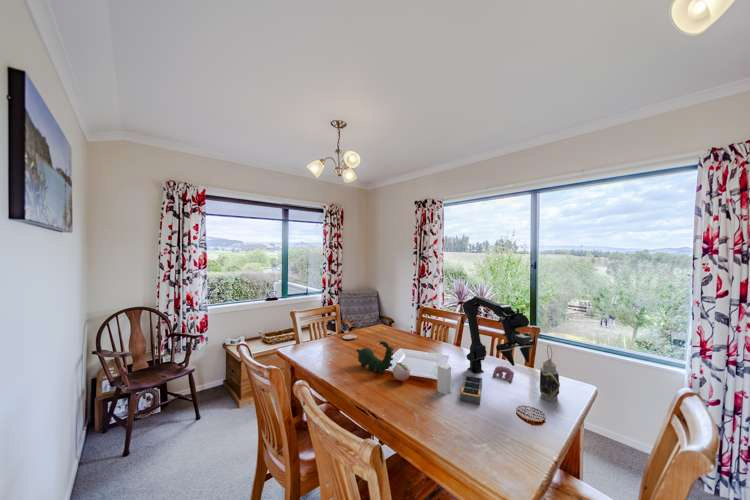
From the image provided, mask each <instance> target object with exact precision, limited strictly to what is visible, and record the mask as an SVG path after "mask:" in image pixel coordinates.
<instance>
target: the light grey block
mask: <svg viewBox="0 0 750 500" xmlns="http://www.w3.org/2000/svg"><path fill="white" fill-rule="evenodd" d="M436 377H437V392H438V393H441V394H443V395H446V396H447V395H449V394H450V393H451V391H452V388H451V387H452V386H451V385H452V382H451V381H452V367H451V366H450V365H447V364H444V363H441V364H438V365H437V376H436Z"/></svg>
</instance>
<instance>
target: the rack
mask: <svg viewBox="0 0 750 500" xmlns="http://www.w3.org/2000/svg"><path fill="white" fill-rule="evenodd" d="M482 389H483V377H479V376H473V375H468V374H464V376H463V381H462V385H461V388H460V396H459V397H460V398H459V399H460V402H463V403H467V404H471V405H477V406H481V402H482V401H481V399H482Z"/></svg>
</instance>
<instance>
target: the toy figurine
mask: <svg viewBox="0 0 750 500" xmlns="http://www.w3.org/2000/svg"><path fill="white" fill-rule="evenodd" d="M379 345H380V346H381V345H382V346H383V347H384V348H385V353H384V356H383V359H381V358H380V359H379V358H378V357H377V356H376V355H375V354H374V351H373V350H372V349H371V348H369V347H364V348H361V349H357V348H356V349H355V351H356V353H357V359H358V360H357V361H358V363H360V366H361V367H362V368H366V367H367V369H368V371H372V369H374V373H376V374H377V373H378V372H381V373H382V374H383V373H385V371H387V370H386V369H388V370H389V369H390V367H393V363H391V361H393V360H394V358H393V355H394V352H393V351H394V348H392V347H391V346H389V343H388V342H386V341H385V340H383V341H380V342H379Z"/></svg>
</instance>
